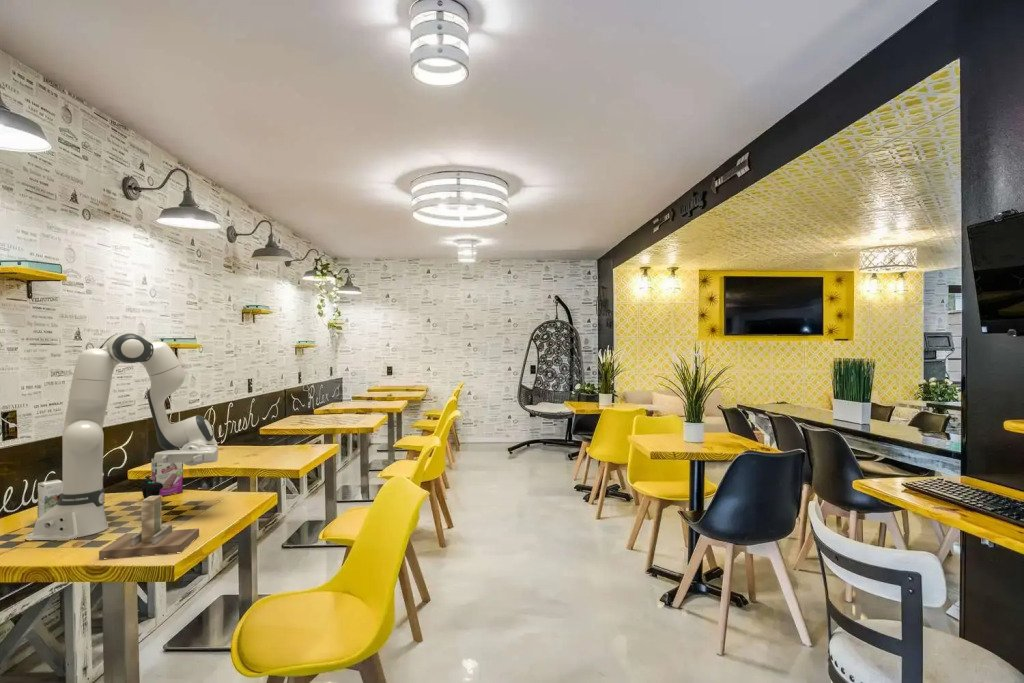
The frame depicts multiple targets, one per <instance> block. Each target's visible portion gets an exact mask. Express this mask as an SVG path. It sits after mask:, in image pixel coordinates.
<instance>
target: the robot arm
mask: <svg viewBox="0 0 1024 683" xmlns="http://www.w3.org/2000/svg"><path fill="white" fill-rule="evenodd" d="M137 363H140V364H141V365H142V366H143V367H144V369H145V370H146V372H147V375H148V377H149V381H150V387H149V389H148V390H147V392H146V393H147V401H148V406H149V410H150V414H151V416H152V420H153V424H154V427H155V432H156V439H157V443H158V446H159V447H160V448H162V449H163V450H162V451H158V452H155V453H154V456H153V459H154V462H155V463H179V462H183V465H186V466H191V467H193V466H197V465H201V464H202V465H203V464H208V463H215V462H218V460H219V458H218V457H219V445H218V442H217V440H216V439H215V438H214V436H215V435H214V434H215V432H214V428H213V425H212V424H211V421H210V420H209V419H208V418H206V417H204V416H203V415H199V414H197V415H195V416H190V417H188V418H186V419H183V420H180V421H177V422H174V423H171V422H170V420H169V417H168V414H167V410H166V407H165V404H166V403H165V402H166V400H167V399H168V397H169V396H171V395H172V394H173V393H175V392H176V391H177V390H179V388H180V387H182V385H183V383H184V382H185V378H186V377H185V376H186V375H185V371H184V369H183V367H182V364H181V363H180V361H179V359H178V357H177V355H176V354H175V352H174V351H173V349H172V348H171V347H170V345H169V344H168V343H166V342H164V341H153V342H150V341H148V340H147V339H145V338H144V337H142V336H141V335H138V334H136V333H131V332H120V333H116V334H113V335H111V336H110V337H108V338H107V339H106V340H105V341H104V342H103V343H102V345H100V346H99V347H97V348H95V347H93V348H92V347H91V348H87V349H84V350H83V351H81V352H80V354H79V355H78V358H77V361H76V363H75V366H74V369H73V373H72V378H71V385H70V390H69V396H68V401H67V402H68V403H67V406H66V407H67V408H66V412H65V417H64V418H65V419H64V423H63V430H62V434H61V435H62V439H61V440H62V443H61V444H62V482H63V493H61V494H59V495H57V496H56V497H54V498H55V499H54V501H55V500H57V503H56V504H57V505H55V506H54V507H52V508H51V509H50V510H48V511H47V512H46V513H44V514H43V515H42V516H40V517H39V518H38V517H37V519H36V520H35V523H34V528H33V531H32V532H30V533H28V534H27V535H25V537H24V540H25V539H33V540H57V541H70V539H71V540H74V538H75V539H78V538H82V537H86V536H90V535H94V534H97V533H101V532H103V531H106V530H107V529H108V528H109V527H110V526H109V524H108V521H107V517H106V512H105V506H104V504H105V498H106V495H105V488H104V475H103V474H104V467H103V466H104V465H103V464H104V439H105V438H104V436H105V434H104V430H103V427H104V422H105V417H106V412H107V408H108V404H109V399H110V392H111V388H112V387H111V385H112V380H113V372H114V370H115V368H116V367H117V365H119V364H137ZM77 537H78V538H77Z"/></svg>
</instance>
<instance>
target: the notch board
mask: <svg viewBox="0 0 1024 683" xmlns="http://www.w3.org/2000/svg"><path fill="white" fill-rule="evenodd" d="M199 537H200V528H199V527H198V528H188V529H186V528H185V529H175V530H173V524H168V525H166V526H164V527H163V528H161V531H159V532H158V533H157V534H155V535H154V536H153V537H152V542H146V543H142V530H141V531H139V532H133V533H132V532H131V533H125V534H123V535H121V536H120V537H119V538H117V539H115V540H114V541H112V542H111V543H110V544H108V545H106V546H105V547H103V548H102V549H100V550H98V560H99V559H101V560H105V559H104V558H113V559H119V558H118V557H126V558H133V557H132V556H138V557H143V556H142V555H150V556H156V555H155V554H163V555H169V554H168V553H175V554H178V553H177V552H181V551H182V550H183V549H184V548H185V547H186V548H187V547H188V546H189V544H190V543H191V542H192V541H193V540H194V539H195V540H197V539H198V538H199ZM195 540H194V541H195ZM194 541H193V542H194ZM193 542H192V543H193ZM192 543H191V544H192ZM191 544H190V545H191ZM186 548H185V549H186ZM185 549H184V550H185ZM184 550H183V551H184ZM183 551H182V552H183ZM182 552H181V553H182Z"/></svg>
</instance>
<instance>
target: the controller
mask: <svg viewBox="0 0 1024 683" xmlns="http://www.w3.org/2000/svg"><path fill="white" fill-rule="evenodd" d="M140 484H141V485H140V486H141V492H142V497H143V498H144V499H146V498H148V497H149V496H158V495H159V494H160V489H162V488H163V484H162V483H159V482H156V481H153V480H151V475H147V476H145V479H144V480H143V481H141V482H140ZM144 499H143V500H144Z"/></svg>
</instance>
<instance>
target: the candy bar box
mask: <svg viewBox="0 0 1024 683" xmlns="http://www.w3.org/2000/svg"><path fill="white" fill-rule="evenodd" d="M150 461H151V463H150V464H151V470H150V471H151V472H150V473H151V474H150V476H151V477H150V479H151V480H153V481H156V482H159V483H162V484H163V488H162V489H160V494H159V495H161V496H163V497H168V496H171V495H170V494H173V493H178V494H182V493H181V492H184V491H183V490H184V489H183V488H184V487H183V486H184V463H183V462H179V463H155V462H154V458H151V460H150ZM167 495H168V496H167ZM173 495H174V494H173Z"/></svg>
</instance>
